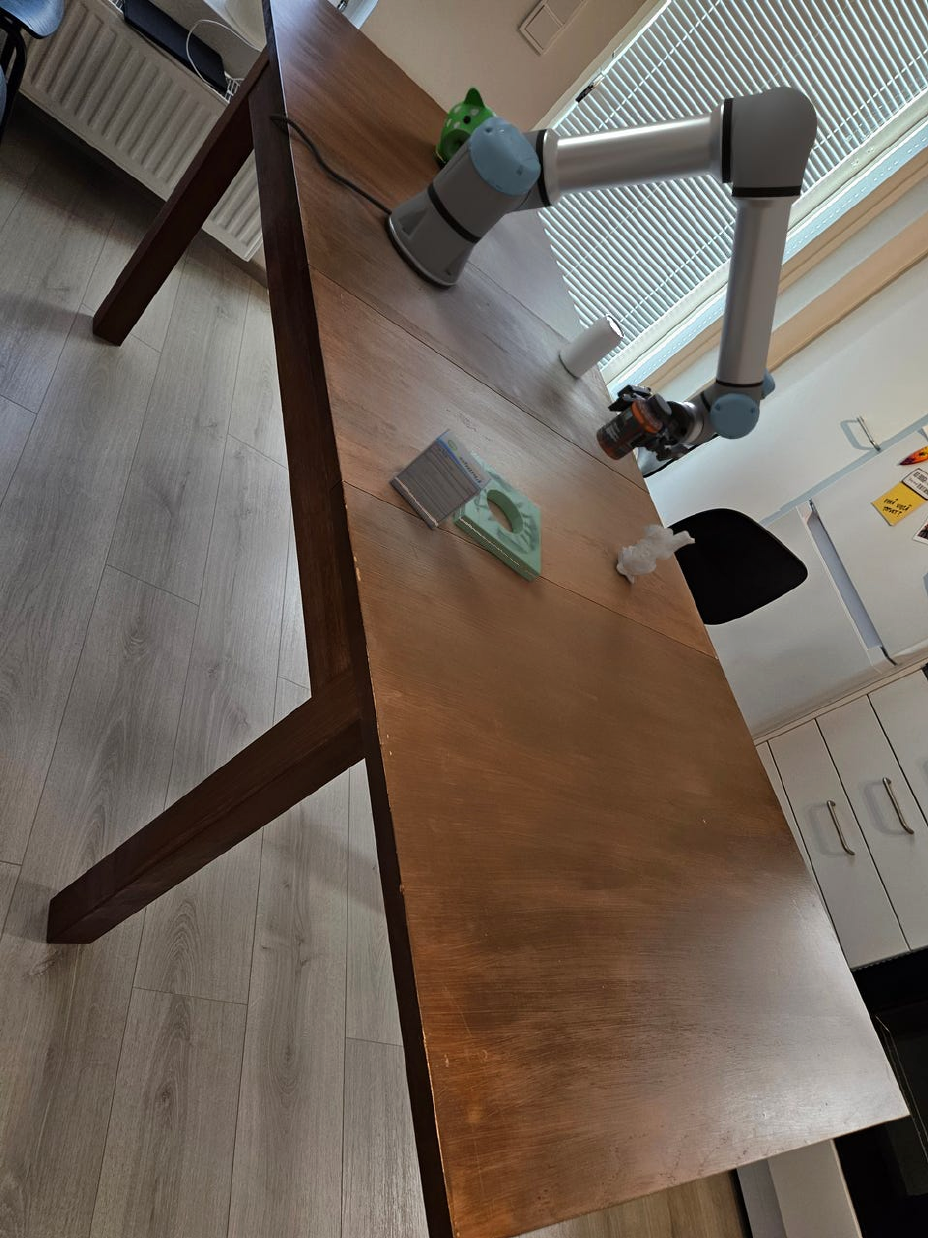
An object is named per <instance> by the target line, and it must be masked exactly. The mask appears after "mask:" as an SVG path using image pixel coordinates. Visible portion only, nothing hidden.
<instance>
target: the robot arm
mask: <svg viewBox="0 0 928 1238" xmlns="http://www.w3.org/2000/svg"><path fill="white" fill-rule="evenodd" d="M267 117H268V118H270V120H272V121H281V122H284V123H286V124H288V125H289V126H290V127H291V128H292V129H293V130H294V131H295V132H296V133H297V134H298V135H299V136H300V137H301V139H302V140H303V141H304V142H305V143H306V144H307V145H308V146H309V148H310V149H311V150H312V152H313V154H314V155H315V157H316V159H317V161H318V163H319V164H320V165H321V167H322V168H323V170H325V172H327V173H328V174H329V175H330V176H331V177H332V178H334V179H336V180H337V181H339V182H341V183H343V184H344V185H346V186H347V187H349V188H350V189H351V190H353V191H355V192H356V193H357V194H359V195H360V196H361V197H363V198H364V199H366V200H367V201H369V202H370V203H371V204H373V205H374V206H375V207H377V208H378V209H380V210H381V211H382V212H384V213H385V214H386V217H385V219H384V225H385V230H386V233H387V235H388V237H389V239H390V240H391V242H392V244H393V245H394V247H395V249H396V250H397V252H398V253H399V254H400V255H401V257H402V258H403V259H404V260H405V262H406V263H407V264H408V265H409V266H410V268H412V269H413V270H414V271H415V272H416V273H417V274H418V275H419V276H421V277H422V278H423V279H425V280H426V281H427V282H429V283H431V284H432V285H434V286H436V287H437V288H440V289H444V290H445V289H446V290H447V289H450V288H452V287H453V286H454V285H455V284H456V283H457V281H458V280H459V278H460V277H461V275H462V273H463V271H464V269H465V267H466V265H467V263H468V261H469V259H470V257H471V254H472V252H473V250H474V249H475V247H476V246H477V244H479V242H480V241H481V240H482V239H483V238H484V237H485V236H486V235H487V234H488V233H489V232H490V231H491V230H492V229H493V228H494V227H495V225H496V224H497V223H498V222H499V221H500V220H501V219H502V218H503V217H505V215H509V214H511V213H515V212H523V211H528V210H529V211H530V210H536V209H544V208H551V207H556V206H558V205H559V203H560V202H561V200H562V199H563V197H564V196H567V195H574V194H580V193H581V194H582V193H589V192H595V191H603V190H611V189H617V188H624V187H625V188H626V187H632V186H638V185H645V184H655V183H661V182H669V181H677V180H685V179H690V178H697V177H706V176H710V177H712V178H714V179H715V181H717V182H718V183H719V184H720V185H724V184H731V183H732V185H731V186H732V188H731V196H730V200H731V201H732V202H733V204H734V205H735V207H736V211H735V219H734V229H733V235H732V244H731V251H730V261H729V268H728V276H727V285H726V293H725V302H724V309H723V316H722V318H723V319H722V325H721V332H720V341H719V350H718V357H717V366H716V374H715V379H714V382H713V383H711V384H710V385H708V386H707V387H706V388H705V389H702V390H701V391H700V392H698V394H696V395H694V396H692V398H691V399H689V400H688V401H686V402H683V401H675V400H665V401H666V402H667V404H668V405H669V407H670V409H671V415H669V416H668V417H667V418H666V419H663V421H662V427H661V429H660V430H659V431H658V432H657V433H644V434H642V435H641V436H639V437H638V438H637V439H635V440H634V441H633V442H631V443H630V444H631V446H632V448H635V447H636V448H645V450H646V451H647V452H651V453H655V454H656V455H655V458H656V461H658V462H660V463H661V462H664V461H665V462H666V461H668V460H671V459H672V460H674V461H679V460H680V459H682V458H683V457H685V456H686V455H688V454H689V453H690V450H689V448H688V447H687V446H690V447H691V446H693V447H694V446H698V445H702V444H704V443H707V442H708V441H710V440H711V439H712V438H713V437H714V435H715V434H717V435H718V436H719V437H721V438H723V439H726V440H730V441H731V440H739V439H742V438H744V437H747V436H749V434H751V432H752V431H754V429H755V428H756V426H757V425H758V422H759V419H760V413H761V409H760V407H761V406H760V405H761V401H762V400H763V401H764V400H765V399H766V398H767V397H768V396H769V395H771V393H772V392H774V391H775V389H776V382H775V380H774V377H773V375H772V374H771V372H770V371H769V369H768V368H767V362H768V357H769V349H770V343H771V338H772V337H771V336H772V331H773V325H774V317H775V312H776V305H777V299H778V292H779V286H780V279H781V274H782V267H783V260H784V255H785V248H786V242H787V235H788V230H789V223H790V217H791V210H792V206H793V205H794V204H795V203H796V202H797V201H798V200H799V199H801V193H802V187H803V183H804V179H805V178H804V177H805V173H806V169H807V165H808V162H809V158H810V156H811V153H812V149H813V147H814V144H815V140H816V138H817V134H818V133H817V132H818V117H817V111H816V109H815V106H814V104H813V103H812V101H811V100H810V98H809V97H808V96H807V95H806V94H805V93H804V92H802V91H801V90H799V89H796V88H793V87H792V86H791V87H790V86H775V87H772V88H769V89H766V90H764V91H761V92H759V93H752V94H751V93H750V94H747V95H741V96H735V97H729V98H723V99H721V101H720V102H719V103H718V104H717V106H715V108H714V109H713V110H712V111H711V112H706V113H701V114H700V113H699V114H696V115H695V114H694V115H688V116H682V117H675V118H669V119H664V120H657V121H651V122H644V123H638V124H632V125H627V126H619V127H614V128H608V129H600V130H596V131H590V132H589V131H588V132H584V133H577V134H571V135H565V136H561V135H559V134H558V133H557V132H556V130H554V129H553V128H552V127H549V128H543V129H537V130H530V131H525V132H522V131H520V130H519V129H518V128H517V127H516V126H515V125H513V124H512V123H509V122H508V121H507V120H506V119H505V118H502V117H499V116H497V117H491V118H488V119H486V120H485V121H484V122H483V123H482V124H481V125H480V126H478V127H477V128H476V129H475V130H474V131H473V133H472V134H471V136H470V137H469V139H468V140H467V141H466V142H465V143H464V144H463V146H462V147H461V148H460V149H459V150H458V152H457V153H456V154H455V155H454V156H453V157H452V159H451V160H450V161H449V162H448V163H447V164H445V166H444V167H442V169H441V170H440V171H439V173H438V174H437V175H436V176H435V177H434V178H433V180H432V181H431V182H430V184H428V185H427V186H426V188H425V189H424V190H422V191H421V192H419V193H417V194H416V195H414V196H412V197H410V198H408V199H407V200H405V201H403V202H402V203H400V204H398V205H396V206H395V207H394V208H392V210H391V209H390V208H388V206H385V205H384V204H383V203H381V202H380V201H379V200H378V199H376V198H375V197H373V196H371V195H370V194H368V193H367V192H366V191H365V190H363V189H361V188H360V187H359V186H357V185H356V184H355V183H353V182H352V181H350V180H349V179H347V178H346V177H344V176H343V175H340V174H339V173H337V172H336V171H334V170H333V169H332V168H331V167H330V165H328V164H327V162H326V161H325V160H324V158H323V157H322V154H321V153H320V151H319V149H318V147H317V145H316V144H315V142H313V140H312V139H311V138H310V137H309V136H308V135H307V134H306V132H304V130H303V129H302V128H301V127H300V126H299V125H298V124H297V123H296V122H295V121H294V120H293V119H291V118H289V117H287V116H286V115H283V114H278V113H269V114H267ZM616 395H617V398H616V400H615V401H613V402H612V403H611V404H610V405H609V406H607V409H608V411H609V412H612V413H621V412H622V411H624V410H625V409H626V408H628V407H629V406H630V405H632V404H633V403H634V402H635V401H637V400H638V399H645V400H647V399H649V398H650V397H652V396H653V394H652V388H651V387H650V386H649V385H647V386H645V387H644V386H640V385H637V384H633V383H628V384H627V385H625V386H624V387H622V388H621V389H620V390H619V391H618V392H616ZM636 448H635V449H636Z"/></svg>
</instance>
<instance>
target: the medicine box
mask: <svg viewBox="0 0 928 1238" xmlns="http://www.w3.org/2000/svg"><path fill="white" fill-rule="evenodd" d="M395 476H396V477H397V478H398V479H399V480H400V481H401V482H402V483H403V484H404V485H405V486H406V487H407V488H408V490H409V492H410V493H411V494H412V495H413V497H414V498H415V499H416V501H417V502H419V504H420V505H421V506H422V507H423V508H424V509H425V510H426V511H427V512H428V513H429V514H430V515H431V516H432V517H433V518H434V519H435V520H436V522H437V523H438V524H439V526H441V525H442V524H443V523H444V522H445V521H447V520H448V519H449V518H451V517H452V516H453V515H455V512H456V511H458V510H459V509H460V508H462V507H463V506H464V505H465V504H466V503H468V502H469V501H470V500H471V499H473V498H474V497H475V496H476V495H478V494H479V493H480V492H481V491H482V490H483V489H484V488H485V487H486V485H487V484H488V483H489V482H490V481H491V477H490V475H489V474H488V473H487V472H486V471H485V469H484V468H483V467H482V466H481V465H480V463H479V462H478V461H477V460H476V459H475V457H474V456H473V455H472V454H471V453H470V450H469V449H468V448H467V446H466V445H465V444H464V443H463V442H462V441H461V440H460V439H459V438H458V436H457V435H456V434H455V433H454V431H453V430H451V429H450V428H448V429H447V430H446V431H444V432H443V433H441V434H440V435H439V436H438V437H436V438H435V439H434V440H433V441H432V442H431V443H429V444H428V445H427V447H425V448H424V449H423V450H422V451H421V452H419V454H417V455H416V456H415V457H414V458H413V459H412V460H411V461H410V462H409V463H407V465H405V467H403V468H402V469H401V470H400V471H399V472H398V473H397V474H396V475H395ZM395 476H393V477H392V478H391V479H390V483H391V484H392V485H393V486H394V488H395V489H396V490H397V491H398V493H400V494H401V495H402V496H403V498H404V499H405V500H406V501H407V503H409V505H410V506H411V507H412V508H413V509H414V510H415V511H416V513H417V514H418V515H419V516H420V517H421V518H422V519H423V520H424V522H425V523H426V524H427V525H428V526H429V527H430V529H431V530H432V531H434V530H436V529H438V527H437V526H436V525H435V523H434V522H433V521H432V520H431V519H430V518H429V516H428V515H427V514H426V513H425V512H424V511H423V510H422V508H421V507H420V506H419V505H418V504H417V503H416V502H415V500H414V499H413V498H412V497H411V496H410V495H409V494H408V492H407V491H406V490H405V489H404V488H403V487H402V485H401V484H400V483H399V482H398V481H397V480H396V479H395Z"/></svg>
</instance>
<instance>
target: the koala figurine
mask: <svg viewBox="0 0 928 1238" xmlns="http://www.w3.org/2000/svg"><path fill="white" fill-rule="evenodd" d="M642 531H643V537H644V538H640V539H639V540H637V542H636V545H634V546H633V545H629V546H627V547H626V546H622V547H621V548H620V551H619V554H618V556H617V564H616V571H617V572H618V573H619V574H621V575H624V576H625V577H626V578H627V580H628V581H629V582H630V583H631V584H634V583H635V580H634V579H633V578H632V576H631V574H633V575H635V576H641V575H642V576H643V575H649V574H651V573H653V572H654V571H655V570H656V568H657V564H656V560H657V559H658V560H660V561H665V560H667V559H669V558H671V556H672V555H673V554H674V553H675V552H677V551H678V550H679V549H680V548H682V547H684V546H686V545H692V544H695V543H696V542H695V538H692V537H691V536H690V534H689V532H688V531H687V530H683V531H681V532H677V533H676V534H674V531H673V530H672V528H670V527H663V526H662V525H659V524H650V525H649V524H648V525H644V526H643V528H642ZM623 564H624V567H625V568H626V569H627V570H628V571H629V572H630V573H631V574H630V573H629V572H628V571H626V570H624V569H623V566H622V565H623Z"/></svg>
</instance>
